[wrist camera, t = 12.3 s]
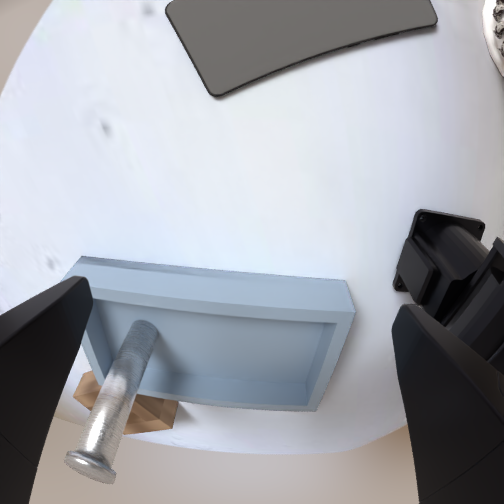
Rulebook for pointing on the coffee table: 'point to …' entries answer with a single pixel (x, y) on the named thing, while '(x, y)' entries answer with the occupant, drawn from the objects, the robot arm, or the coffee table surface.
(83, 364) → the coffee table surface
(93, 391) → the pin block
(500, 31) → the decorative candle
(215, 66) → the smartphone
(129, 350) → the metal pin
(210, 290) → the tray
